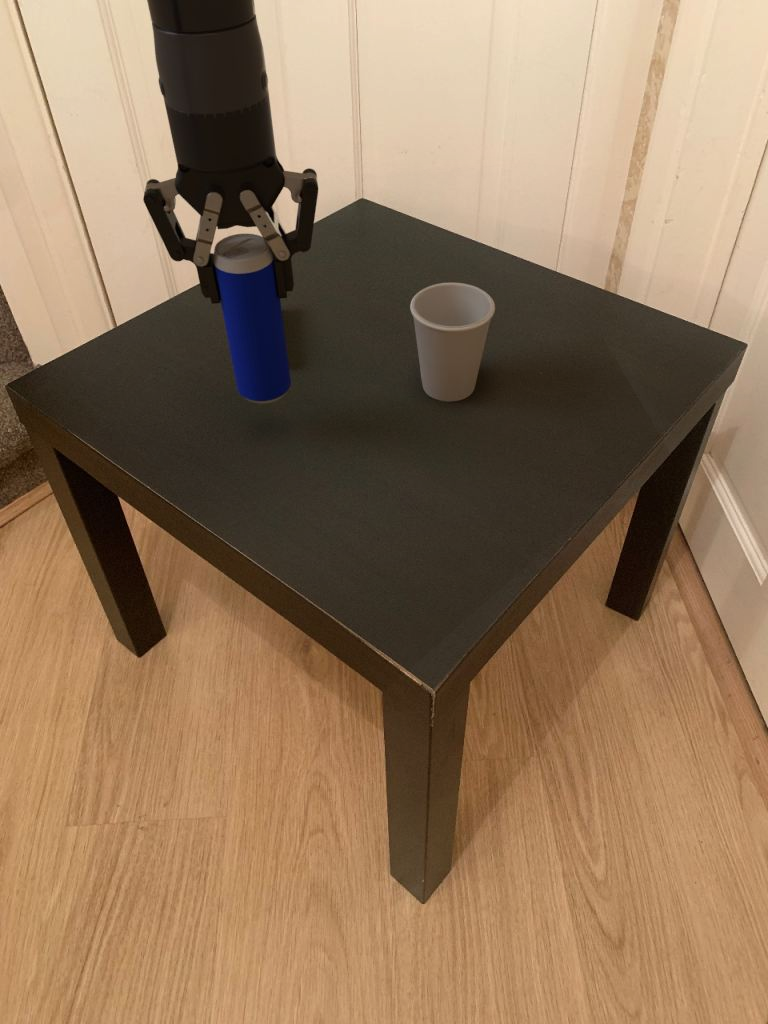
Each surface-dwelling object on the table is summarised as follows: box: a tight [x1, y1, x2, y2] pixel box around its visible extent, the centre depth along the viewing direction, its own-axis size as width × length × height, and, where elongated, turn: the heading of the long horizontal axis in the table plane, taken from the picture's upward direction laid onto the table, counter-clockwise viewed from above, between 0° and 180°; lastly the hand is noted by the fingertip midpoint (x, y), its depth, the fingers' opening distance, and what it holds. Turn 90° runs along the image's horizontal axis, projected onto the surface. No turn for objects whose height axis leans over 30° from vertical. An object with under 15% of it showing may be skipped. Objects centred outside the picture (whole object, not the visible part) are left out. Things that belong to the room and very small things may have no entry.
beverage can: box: [213, 233, 292, 405], centre depth 72 cm, size 5×5×15 cm
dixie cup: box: [409, 282, 496, 402], centre depth 82 cm, size 8×8×10 cm
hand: (249, 295), depth 69 cm, fingers closed on beverage can, 5 cm apart
